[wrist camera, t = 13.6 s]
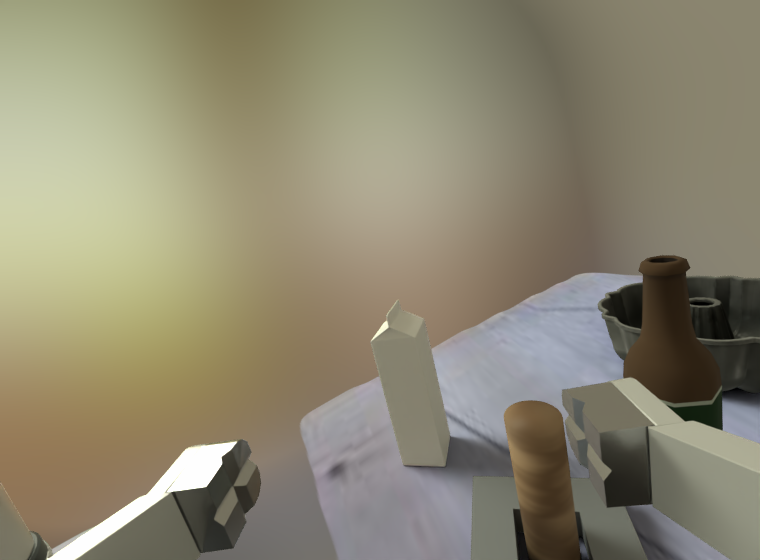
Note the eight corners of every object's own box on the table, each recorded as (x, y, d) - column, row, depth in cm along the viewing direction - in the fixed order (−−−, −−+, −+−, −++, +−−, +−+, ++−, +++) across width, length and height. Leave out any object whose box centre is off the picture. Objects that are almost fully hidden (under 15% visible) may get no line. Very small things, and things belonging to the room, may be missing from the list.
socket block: (476, 647, 28) (469, 620, 27) (477, 497, 41) (472, 476, 40) (689, 683, 24) (687, 652, 23) (615, 502, 36) (612, 478, 36)
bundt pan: (607, 323, 73) (603, 277, 70) (801, 327, 57) (804, 268, 54) (596, 396, 53) (589, 335, 50) (891, 434, 37) (901, 348, 34)
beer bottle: (733, 510, 33) (731, 267, 28) (631, 487, 38) (613, 274, 32) (715, 452, 39) (710, 244, 34) (629, 438, 44) (613, 252, 38)
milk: (450, 436, 52) (420, 295, 47) (445, 468, 46) (411, 312, 41) (411, 435, 54) (378, 301, 49) (401, 466, 48) (363, 318, 43)
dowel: (532, 590, 31) (505, 436, 27) (526, 541, 35) (502, 401, 31) (589, 596, 29) (568, 435, 26) (576, 545, 33) (556, 399, 30)
